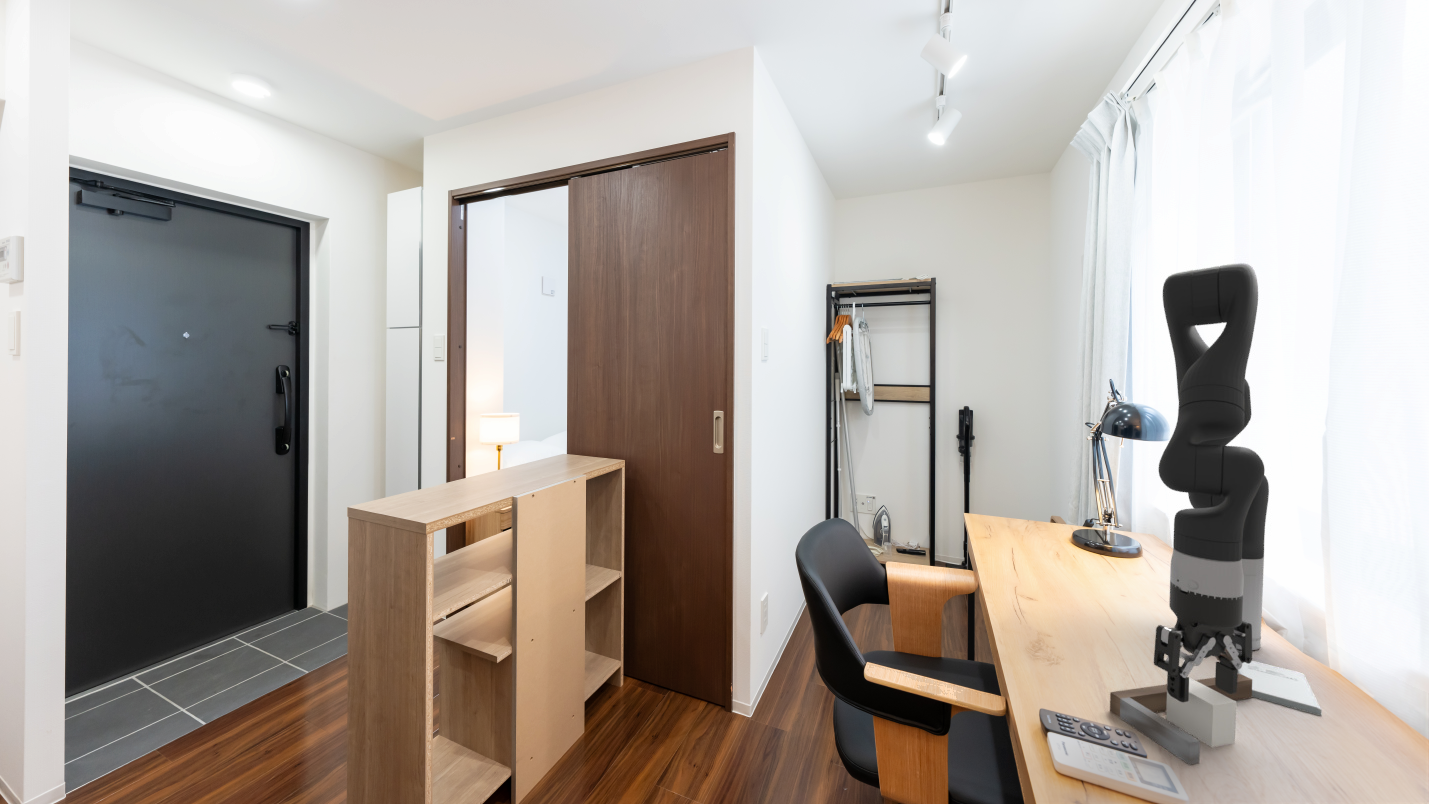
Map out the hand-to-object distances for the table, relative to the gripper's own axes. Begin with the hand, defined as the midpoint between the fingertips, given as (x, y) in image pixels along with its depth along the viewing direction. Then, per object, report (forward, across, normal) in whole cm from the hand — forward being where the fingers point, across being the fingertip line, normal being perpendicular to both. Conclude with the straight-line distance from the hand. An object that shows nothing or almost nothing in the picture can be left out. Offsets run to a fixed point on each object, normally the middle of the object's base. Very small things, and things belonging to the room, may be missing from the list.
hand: (1201, 694), depth 74 cm
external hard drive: (+6, -24, -6) cm, 25 cm away
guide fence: (+5, -4, 0) cm, 6 cm away
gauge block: (+5, 0, 0) cm, 5 cm away
